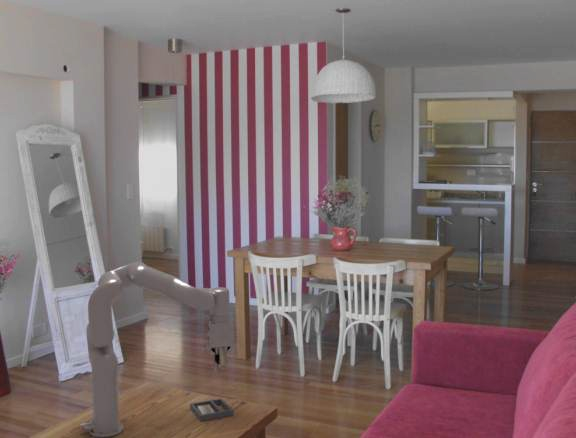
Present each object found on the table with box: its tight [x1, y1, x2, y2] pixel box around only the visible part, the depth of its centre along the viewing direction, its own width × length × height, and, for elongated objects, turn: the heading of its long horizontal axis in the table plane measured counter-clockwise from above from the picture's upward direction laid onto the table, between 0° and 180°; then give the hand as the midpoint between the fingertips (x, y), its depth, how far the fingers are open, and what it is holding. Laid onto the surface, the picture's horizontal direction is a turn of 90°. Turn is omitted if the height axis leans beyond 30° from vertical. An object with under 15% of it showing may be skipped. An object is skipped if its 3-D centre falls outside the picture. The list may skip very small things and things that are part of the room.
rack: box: [189, 397, 234, 423], centre depth 266 cm, size 14×14×3 cm
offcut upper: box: [197, 405, 215, 415], centre depth 265 cm, size 5×10×2 cm, turn 21°
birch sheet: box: [211, 347, 228, 374], centre depth 266 cm, size 2×7×12 cm
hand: (220, 362), depth 265 cm, fingers closed on birch sheet, 1 cm apart
